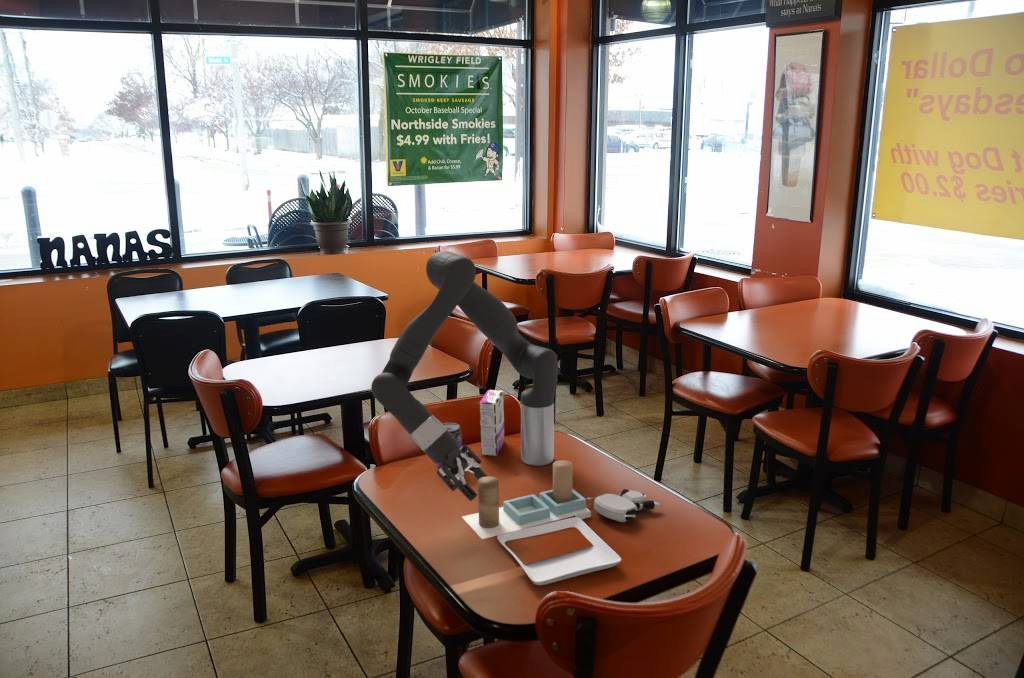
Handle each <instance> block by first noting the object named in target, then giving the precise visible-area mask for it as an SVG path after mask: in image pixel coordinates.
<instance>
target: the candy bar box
mask: <svg viewBox="0 0 1024 678" xmlns="http://www.w3.org/2000/svg"><path fill="white" fill-rule="evenodd" d="M478 405H479V424H480V451H481V452H480V453H481V456H486V455H488V456H490V457H497V456H498V455H499V452H500V451H501V449H502V447H503V445H504V444H505V441H506V440H505V439H506V438H505V412H504V411H505V409H504V390H500V389H488V390H487V391H486V392H485V394H484V396H483V397H482V398H481V400H480V401H479V404H478Z"/></svg>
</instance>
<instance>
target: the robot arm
mask: <svg viewBox="0 0 1024 678" xmlns="http://www.w3.org/2000/svg"><path fill="white" fill-rule="evenodd" d="M425 266H426V267H425V272H426V276H427V279H428V280H429V282H430V283H431V285H433V287H435V288H436V289H438V292H437V294H436V296H435V297H434V299H433V300H432V301H431V303H429V305H427V307H426V308H425V309H423V310H422V311H421V312H420V313H419V314H418V315H416V317H414V318H413V319H412V320H411V321H410V322H409V323H408V324H407V325H406V326H405V327H404V329H403V330H402V332H401V333H400V335H399V337H398V338H397V340H396V341H395V344H394V346H393V348H392V349H391V352H390V355H389V359H388V361H387V363H386V365H385V366H384V368H383V370H382V372H381V373H380V374H378V375H376V376H375V377H374V378H373V380H372V382H371V392H372V395H373V396H374V398H375V399H376V400H377V402H379V404H381V406H383V408H385V410H386V411H388V412H389V413H390V415H392V416H393V417H394V418H395V419H396V420H397V421H398V423H399V424H400V425H401V427H403V429H404V430H405V431H406V432H407V433H408V434H409V435H410V437H412V440H413V441H414V442H415V443H416V444H417V446H418V447H419V449H421V451H423V453H425V455H426V456H427V457H428V458H429V459H430V460H431V461H432V462H433V463H434V464H435V465H437V464H438V463H441V465H442V467H441V468H439V469H438V470H437V471H436V474H437V475H438V476H439V477H440V479H441V480H442V481H443V482H444V483H445V485H446V486H447V487H448V489H450V490H451V491H452V492H455V491H456V490H457V491H460V492H461V493H462V494H463V495H464V497H465V498H467V500H469V501H471V502H472V501H473V500H474V499H476V497H478V493H476V491H475V490H474V489H473V488H472V487H471V485H469V484H468V483H466V479H465V477H464V475H465V472H470V473H472V474H473V476H474V477H475V478H476V479H477V481H478V480H479V479H480V478H482V477H486V476H488V475H487V474H486V472H485V471H484V470H483V469H482V468H481V467H482V466H481V463H482V460H481V458H480V457H479V456H478V455H476V453H475V452H474V451H473V450H472V449H471V448H470V447H469V446H468V445H467V444H464V445H462V447H461V448H460V449H459V448H457V446H458V444H459V442H458V441H457V440H456V439H455V437H454V436H453V435H452V434H451V433H450V432H449V431H448V430H447V429H446V428H445V427H444V425H443V423H442V422H441V421H440V420H439V419H437V417H435V416H434V415H433V414H432V413H431V412H430V410H429V409H428V408H427V407H426V406H425V405H424V404H423V403H422V402H421V401H420V400H418V399H417V398H416V397H415V396H414V395H413V394H412V392H410V390H409V389H408V388H407V386H408V384H409V382H410V380H411V378H412V375H413V374H414V371H415V369H416V368H417V366H418V365H419V363H420V361H421V359H422V358H423V356H424V354H425V353H426V351H427V349H428V347H429V345H430V344H431V342H432V340H433V338H434V337H435V335H436V334H437V333H438V331H439V329H440V328H441V327H442V326H443V324H444V323H445V322H446V320H447V319H448V318H449V316H450V315H451V314H452V313H453V311H455V308H456V307H458V308H459V309H460V310H461V312H462V313H463V314H464V315H465V316H466V317H467V318H468V319H469V321H471V322H472V324H473V325H474V326H475V327H476V328H477V329H478V330H479V331H480V333H482V334H483V335H484V336H485V337H486V338H487V339H488V340H489V341H490V342H491V343H492V344H493V345H494V346H495V347H496V348H497V349H498V350H499V351H500V352H501V353H502V354H503V355H504V356H505V358H506V359H507V360H508V362H509V364H511V366H512V368H513V369H514V370H515V371H516V372H517V373H518V374H519V375H520V376H522V377H524V378H527V379H531V380H532V387H530V388H527V389H525V390H523V391H522V392H521V394H520V457H521V461H522V462H523V463H525V464H526V465H529V466H546V465H548V464H551V463H552V462H553V461H555V460H554V459H555V454H554V453H555V438H554V437H555V396H556V393H557V389H558V388H557V387H558V386H557V385H558V371H559V370H558V368H559V363H558V357H557V354H556V352H555V351H554V350H552V349H550V348H547V347H542V346H539V345H534V344H532V343H531V342H529V341H527V339H525V338H524V337H523V336H522V335H521V333H519V329H518V327H519V326H518V321H517V319H516V317H515V315H514V314H513V312H512V311H511V310H510V309H509V308H508V307H507V306H506V305H505V303H503V301H502V300H500V299H499V298H498V297H497V296H495V295H494V294H493V293H491V292H489V291H488V290H486V289H485V288H484V287H482V286H480V285H479V284H477V282H475V280H476V277H477V276H476V275H477V269H476V265H475V263H474V262H473V261H472V260H471V259H470V258H468V257H466V256H463V255H460V254H458V253H455V252H452V251H448V250H444V251H442V250H441V251H437V252H434V253H433V254H432V255H430V256H429V258H428V260H427V261H426V265H425ZM452 482H453V483H452Z"/></svg>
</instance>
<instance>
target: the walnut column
mask: <svg viewBox="0 0 1024 678" xmlns="http://www.w3.org/2000/svg"><path fill="white" fill-rule="evenodd" d="M499 487H500V485H499V479H498V478H497V477H495V476H488V475H487V476H486V477H482V478H480V479H479V480H478V479H477V490H478V491H477V492H478V493H477V499H478V513H479V525H480V526H481V527H483V528H494V527H497V526H498V525H499V508H500V498H499V495H500V494H499V490H500V489H499Z"/></svg>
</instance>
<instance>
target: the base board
mask: <svg viewBox="0 0 1024 678" xmlns="http://www.w3.org/2000/svg"><path fill="white" fill-rule="evenodd" d="M573 469H574V468H573V463H572V462H571V461H570V460H566V459H565V460H564V459H560V460H556V461H555V460H554V462H553V463H552V489H549V490H544V491H541V492H539V494H538V495H539V497H538V496H537V495H536V494H534V493H532V494H528V495H524V496H519V497H516V498H512V499H508V500H504V501H503V502H502V504H503V505H502V506H501V507H500V506H499V525H498V526H497V527H494V528H483V527H481V526H480V525H479V512H477V513H471V514H467V515H463V516H461V518H462V519H463V520H464V521H465V522H466V523H467V525H468V526H470V528H471V530H473V531H474V532H475V533H476V534H477V536H478V537H479V538H480V539H481V540H484V539H485V540H486V539H489V538H492V537H497V536H499V535H502V534H506V533H510V532H514V531H518V530H523V529H527V528H531V527H535V526H539V525H543V524H548V523H552V522H556V521H561V520H565V519H569V518H572V517H574V516H575V517H579V518H580V519H581V520H584V519H588V518H591V516H592V512H591V510H590V509H588V508H587V499H586V498H585V497H584V496H583V495H581V494H580V493H579V492H577V491H576V490H575V489H574V488H573Z"/></svg>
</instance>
